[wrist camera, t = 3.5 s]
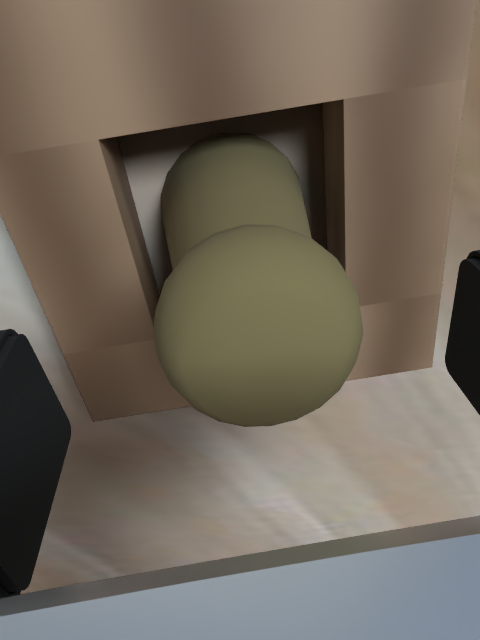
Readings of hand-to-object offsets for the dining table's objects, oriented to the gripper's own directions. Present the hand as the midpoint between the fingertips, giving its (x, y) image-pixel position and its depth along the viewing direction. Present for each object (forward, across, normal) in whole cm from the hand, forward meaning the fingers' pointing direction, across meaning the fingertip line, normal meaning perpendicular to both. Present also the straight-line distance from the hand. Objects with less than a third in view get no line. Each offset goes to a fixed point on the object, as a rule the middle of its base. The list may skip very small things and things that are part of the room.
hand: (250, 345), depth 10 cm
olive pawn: (+11, 0, +1) cm, 11 cm away
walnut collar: (+11, 0, +1) cm, 11 cm away
